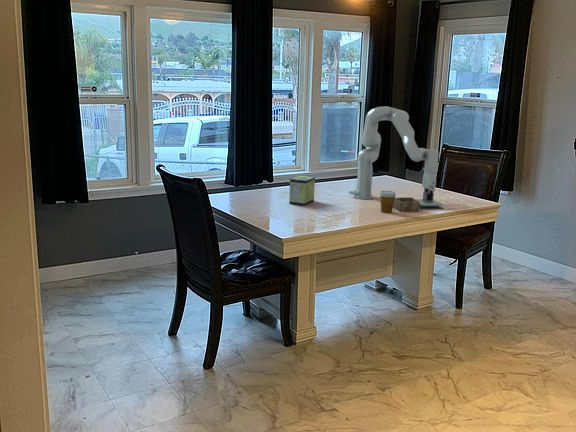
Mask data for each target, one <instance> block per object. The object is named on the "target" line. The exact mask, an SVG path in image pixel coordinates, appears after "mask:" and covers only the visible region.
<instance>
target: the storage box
mask: <svg viewBox="0 0 576 432" xmlns="http://www.w3.org/2000/svg"><path fill="white" fill-rule="evenodd" d="M417 200H418V199H415V198H414V197H411V196H409V197H408V196H407V197H406V196H405V197H395V199H394V204H393V209H394V210H395V211H397V210H398V211H397V212H399V213H412V212H413V213H417V212H420V209H419V203H420V202H419V201H417Z"/></svg>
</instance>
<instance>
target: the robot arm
mask: <svg viewBox="0 0 576 432" xmlns="http://www.w3.org/2000/svg"><path fill="white" fill-rule="evenodd" d="M409 120H410V116H409V114H408V112H407V111H405V110H401V109H398V108H395V107H391V106H377V107H375V108H372V109H370V110H369V111H368V112H367V113H366V115H365V120H364V126H363V132H362V137H361V144H362V145H363V146H364V147H365V148H364V149H362V150H361V149H360V150H359V152H358V154H357V157H356V159H357V180H356V189H354V190H353V191H351V190H350V191H349V192H348V194H349V195H353V197H354V198H355V199H359V200H371V199H374V195H373V194H372V185H373V184H372V183H373V163H374V162H375V161H377V160H378V158H379V154H380V149H381V143H382V137H381V134H380V133H379V132H378V128H379V122H382V121H390V122H392V124H393V126H394V127H395V130H397V132H398V133H399V136H400V138H401V140H402V144H403V147H404V150H405V151H406V153H407V155H408V157H409V159H410V160H412V161H413V162H415V163H416V162H420V161H424V169H423V176H422V183H421V186H422V187H423V192H428V194H427V200H432V197H433V198H434V196H433V193H435V190H436V186H437V173H438V163H439V150H437V149H428V148H424V147H419V146H418V144H417V142H416V140H415V130H414V128H413V127H412V125H411V124H410V121H409Z"/></svg>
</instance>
